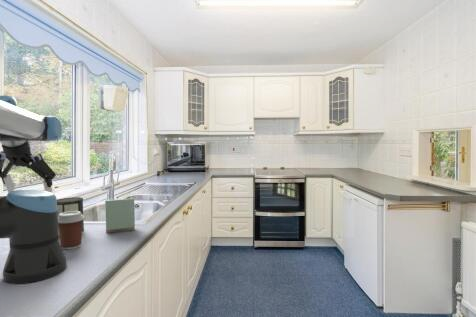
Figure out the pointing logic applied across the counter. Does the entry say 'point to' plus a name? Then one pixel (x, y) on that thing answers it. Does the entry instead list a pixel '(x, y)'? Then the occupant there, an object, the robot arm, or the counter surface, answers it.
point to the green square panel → (119, 214)
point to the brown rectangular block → (119, 230)
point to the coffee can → (70, 206)
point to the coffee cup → (70, 229)
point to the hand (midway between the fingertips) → (30, 192)
